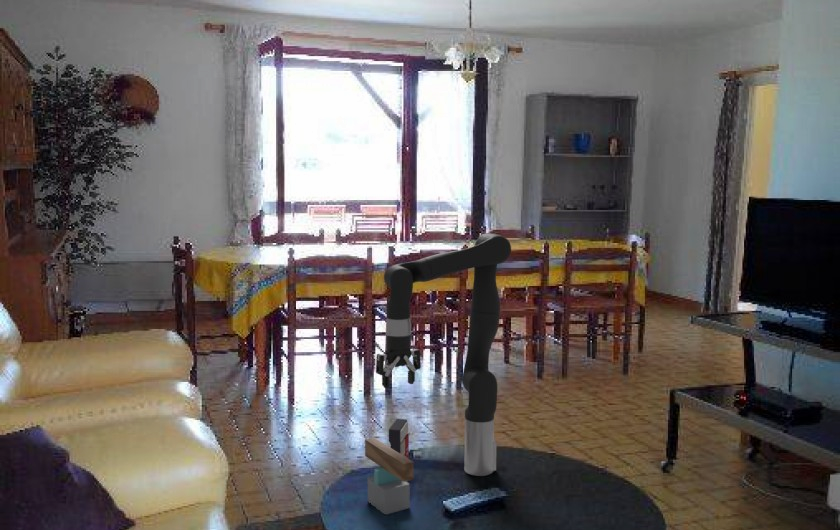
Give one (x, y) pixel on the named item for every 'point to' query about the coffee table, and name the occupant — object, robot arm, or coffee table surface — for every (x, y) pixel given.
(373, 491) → the balance stand
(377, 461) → the walnut beam
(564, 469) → the coffee table surface
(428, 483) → the coffee table surface
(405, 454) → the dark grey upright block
